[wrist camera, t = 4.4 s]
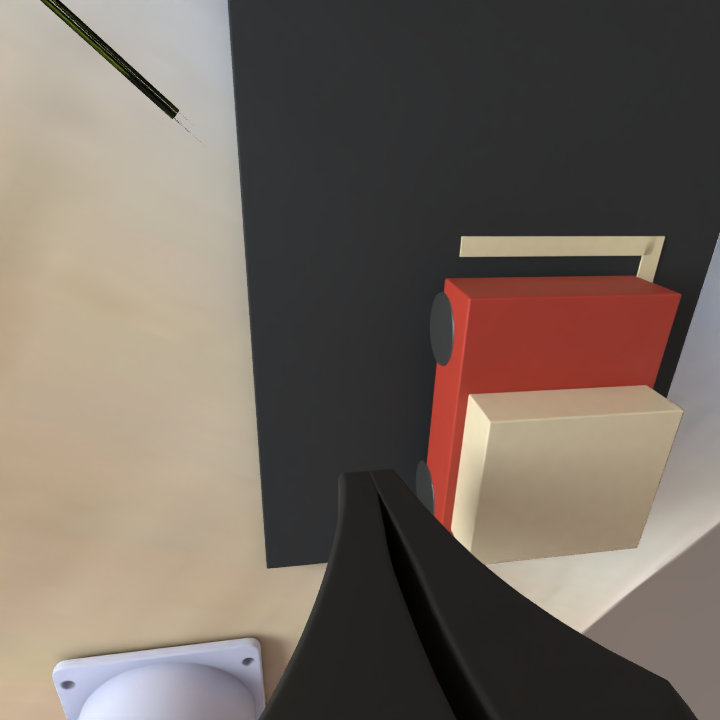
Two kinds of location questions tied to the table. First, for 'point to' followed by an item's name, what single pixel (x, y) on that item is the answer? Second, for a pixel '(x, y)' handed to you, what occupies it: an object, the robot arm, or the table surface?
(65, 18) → the toy tank
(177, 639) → the table surface
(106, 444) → the table surface
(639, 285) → the toy car
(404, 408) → the mat
